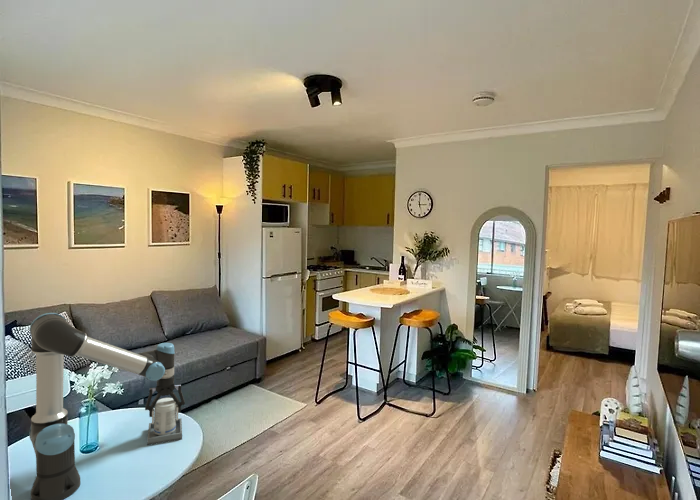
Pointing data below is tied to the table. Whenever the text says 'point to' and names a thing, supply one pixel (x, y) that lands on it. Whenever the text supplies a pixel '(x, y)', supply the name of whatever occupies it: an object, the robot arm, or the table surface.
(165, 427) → the supplement tub
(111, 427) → the table surface
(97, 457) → the table surface
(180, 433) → the tray
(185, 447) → the table surface
